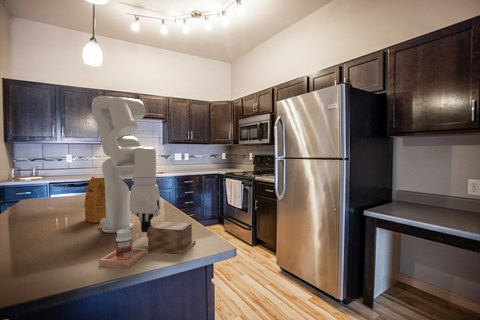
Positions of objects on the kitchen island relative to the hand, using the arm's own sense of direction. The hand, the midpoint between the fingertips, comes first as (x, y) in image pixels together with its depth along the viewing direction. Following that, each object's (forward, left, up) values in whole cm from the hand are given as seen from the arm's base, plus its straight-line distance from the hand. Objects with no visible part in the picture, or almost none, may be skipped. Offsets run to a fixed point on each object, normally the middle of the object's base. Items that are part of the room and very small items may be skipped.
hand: (146, 230), depth 88 cm
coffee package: (-44, +25, -6) cm, 51 cm away
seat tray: (0, -12, -5) cm, 13 cm away
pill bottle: (0, -12, -5) cm, 13 cm away
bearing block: (+6, 0, -5) cm, 8 cm away
